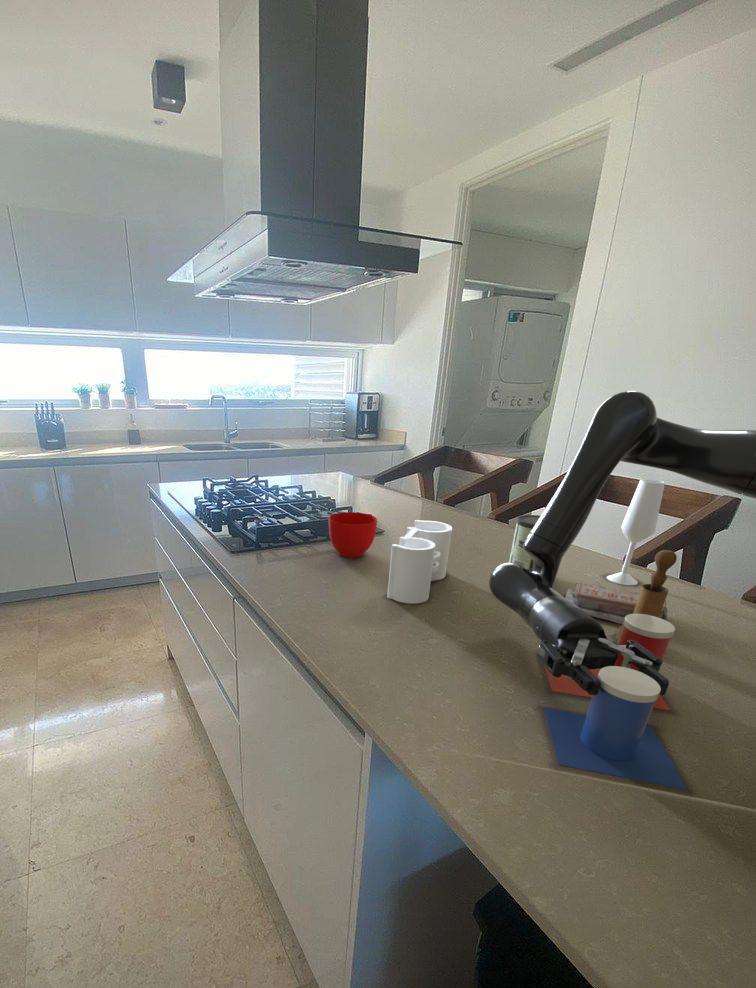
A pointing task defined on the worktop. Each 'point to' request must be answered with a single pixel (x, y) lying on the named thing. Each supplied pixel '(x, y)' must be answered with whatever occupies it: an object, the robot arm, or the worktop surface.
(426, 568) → the bracket
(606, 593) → the packaged product
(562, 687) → the terracotta mat
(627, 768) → the blue mat
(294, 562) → the worktop surface
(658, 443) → the robot arm
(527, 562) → the coffee can
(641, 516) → the champagne flute
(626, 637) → the red canister
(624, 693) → the blue canister
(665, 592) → the mortar and pestle
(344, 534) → the ceramic cup
